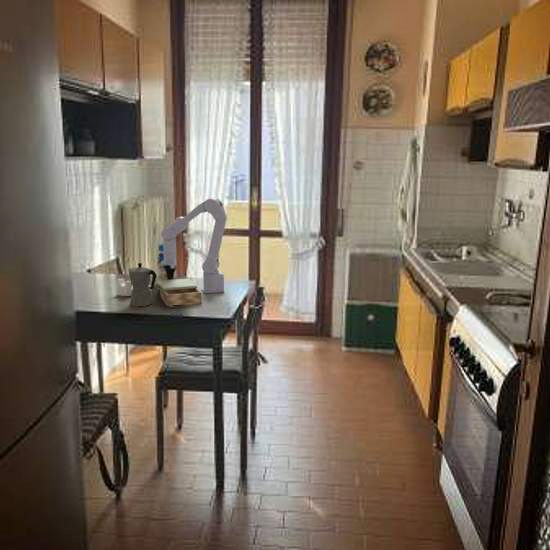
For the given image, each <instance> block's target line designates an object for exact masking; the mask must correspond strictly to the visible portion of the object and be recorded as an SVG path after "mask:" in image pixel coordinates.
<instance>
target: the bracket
mask: <svg viewBox="0 0 550 550" xmlns="http://www.w3.org/2000/svg"><path fill="white" fill-rule="evenodd" d="M148 286H149V287H151V285H150V284H149V285H148ZM132 290H133V286H132V285H131V280H128V281H127V280H126V281H125V279H124V278H119V279H117V292H118V296H120V295H121V296H120V297H131V294H132ZM149 290H150V293H151V292H152V289H149Z"/></svg>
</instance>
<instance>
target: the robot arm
mask: <svg viewBox="0 0 550 550" xmlns="http://www.w3.org/2000/svg"><path fill="white" fill-rule="evenodd" d="M224 207H225V206H224V203H223V201H221V199H219V198H218V197H212V198H208V199H205V200H204V201H203V202H201V203H199V204H198V205H197V206H195V207H194V208H193V209H191V211H190V212H188V213H187V214H186V215H185V216H178V217H175V220H174V221H173V222H172V223H169V224H167V225H168V227H167V226H166V227H164V228H163V229H162V231H161V237H162V238H163V239H162V242H163V243H162V244H163V252H164V261H163V262H161V263H162V264H167V265H166V266H163V267H164V268H165V271H166V274H167V279H168V280H171V279H173V277H174V278H175V272H176V269H177V265H176V264H177V251H176V250H177V249H176V248H177V245H176V237H177V236H178V235H179V234H180V233H182V232H183V231H184V230H185V229H186V228H188V227H189V223H190V222H191V221H192V220H194V219H195V218H197V217H198V216H199V215H200V214H202V213H203V214H205V213H206V212H207V213H208V214H210V215H211V216H212V217H213V219H214V220H215V221H214V225H213V231H212V235H211V238H210V242H209V243H210V244H209V248H208V251H207V252H208V253H207V254H206V257H205V261H204V262H203V263H202V266H201V268H202V271H203V272H202V273H203V274H202V276H203V278H202V279H203V280H202V281H203V285H202V287H203V288H201V291H202V292H203V293H205V294H214V293H216V294H217V293H223V292H225V276H224V273H223V272H221V271H220V272H219V270H218V269H219V267H220V260H219V259H220V249H221V245H222V241H223V236H224V232H225V228H226V224H227V219H228V217H227V213H226V210H225V208H224Z"/></svg>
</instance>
